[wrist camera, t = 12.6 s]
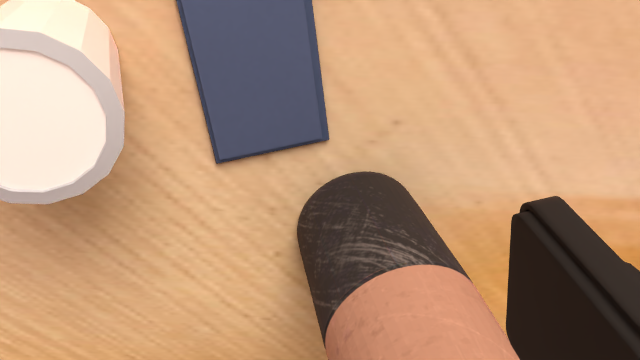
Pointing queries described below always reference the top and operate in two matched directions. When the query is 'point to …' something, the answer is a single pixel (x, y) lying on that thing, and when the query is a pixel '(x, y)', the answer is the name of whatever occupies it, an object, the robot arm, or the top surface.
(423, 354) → the travel mug
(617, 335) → the robot arm
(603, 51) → the top surface
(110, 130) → the cream tapered cup
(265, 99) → the blue flat rectangular slab
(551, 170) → the top surface
